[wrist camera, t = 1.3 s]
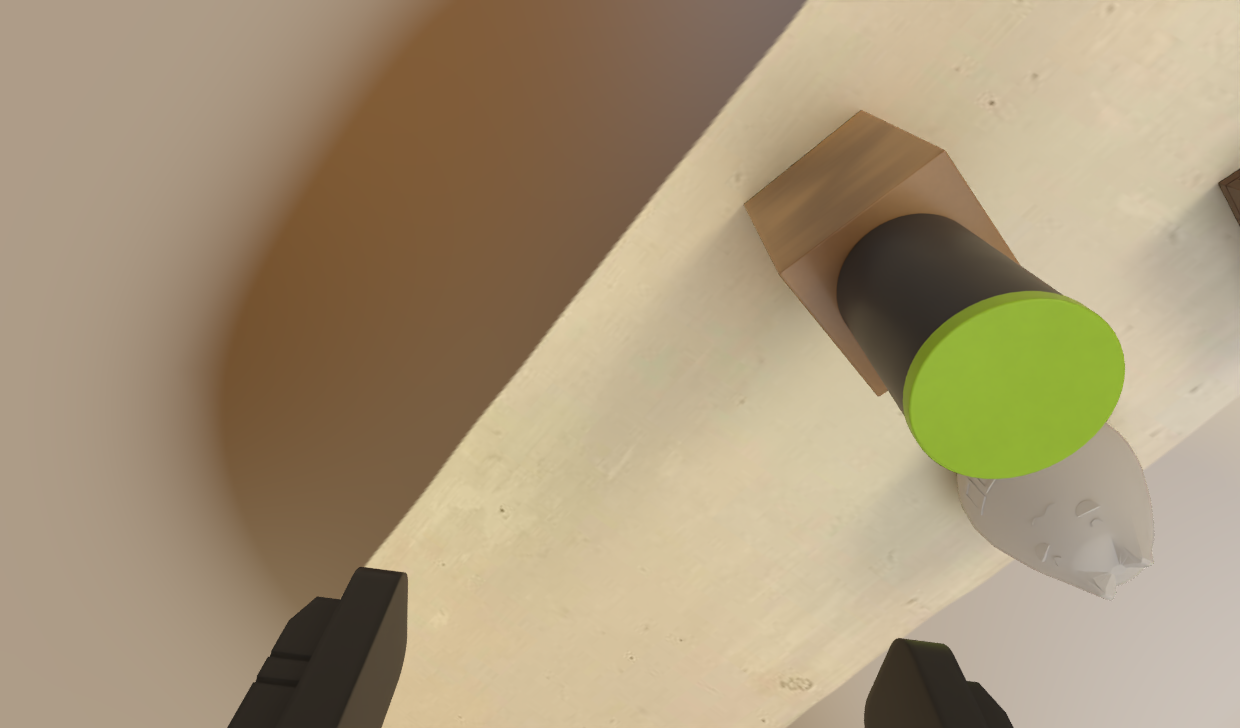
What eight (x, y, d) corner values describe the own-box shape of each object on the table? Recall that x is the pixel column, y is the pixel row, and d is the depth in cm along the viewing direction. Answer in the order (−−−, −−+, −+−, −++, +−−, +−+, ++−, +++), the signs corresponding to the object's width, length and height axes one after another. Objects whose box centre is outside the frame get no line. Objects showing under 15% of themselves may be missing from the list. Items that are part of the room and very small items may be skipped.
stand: (861, 109, 39) (945, 149, 28) (936, 218, 41) (1039, 293, 31) (743, 204, 41) (778, 274, 31) (821, 301, 44) (878, 397, 33)
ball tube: (937, 178, 29) (1066, 254, 20) (1013, 291, 31) (1161, 405, 22) (804, 276, 31) (869, 384, 22) (884, 376, 33) (972, 511, 24)
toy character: (1009, 361, 45) (1122, 471, 35) (1134, 426, 47) (1278, 549, 36) (909, 478, 50) (983, 608, 39) (1028, 533, 52) (1128, 672, 41)
